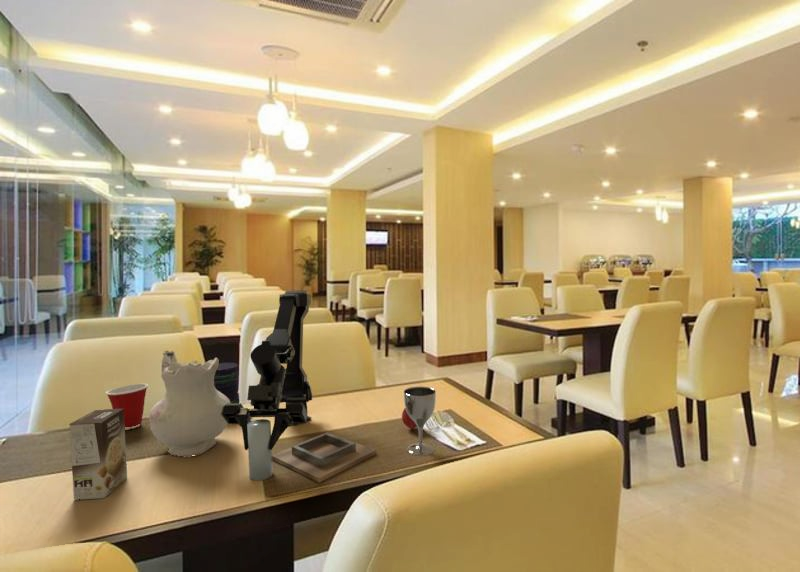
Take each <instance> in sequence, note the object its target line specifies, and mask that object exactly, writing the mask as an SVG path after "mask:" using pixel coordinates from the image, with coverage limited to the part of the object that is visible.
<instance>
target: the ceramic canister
mask: <svg viewBox="0 0 800 572" xmlns="http://www.w3.org/2000/svg"><path fill="white" fill-rule="evenodd" d="M247 431H248V450H247V451H248V452H247V453H248V472H249V473H248V474H249V475H248V476H249V480H252V481H254V482H255V481H257V482H258V481H259V482H260V481H265V480H267V479H270V478H271V477H272V476H273V474H274V472H273V460H272V455H273V453H272V452H273V451H272V450H269V442H270V438H271V434H272V424H271V420H270V419H265V418H264V419H262V418H261V419H254V420H251V422H249V423H248V424H247Z"/></svg>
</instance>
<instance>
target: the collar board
mask: <svg viewBox="0 0 800 572" xmlns="http://www.w3.org/2000/svg"><path fill="white" fill-rule="evenodd" d="M375 455H377V449H374V448H372V447H368V446H365V445H363V444H360V443H358V442H356V441H352V440H350V439H347V438H344V437H341V436H339V435H335V434H333V433H330V432H323V434H319V435H317V436H314V437H312V438H309V439H307V440H305V441H302V442H300V443H296V444H294V445H292V446H291V447H288V448H286V449H284V450H281V451H279V452H277V453H274V454H272V461H274V462H276V463H278V464H280V465H282V466H284V467H286V468H288V469H291V470H292V471H295V472H296V473H298V474H300V475H302V476H304V477H306V478H309V479H310V480H313V481H314V482H317V483H321V482H323V481H325V480H327V479H329V478H331V477H333V476H335V475H337V474H339V473H340V472H343V471H345V470H347V469H349V468H351V467H353V466H356V465H357V464H359V463H361V462H363V461H366V460H367V459H369V458H371V457H373V456H375Z"/></svg>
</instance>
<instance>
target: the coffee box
mask: <svg viewBox="0 0 800 572" xmlns="http://www.w3.org/2000/svg"><path fill="white" fill-rule="evenodd" d="M69 441H70V453H71V467H72V468H71V470H72V472H71V473H72V475H71V476H72V487H73V488H72V490H73V500H74V499H75V500H74V501H80V500H95V499H97V500H98V499H105V498H106V497H107V496H108V495H109V494H111V493H112V492H113V491H114V490H116V488H117V487H118V486H120V485H121V484H122V483H123V482H124V481H125V480H126V479H127V478H128V469H127V468H128V467H127V465H128V464H127V450H126V445H127V444H126V433H125V426H124V409H113V408H107V409H95V410H93V411H91V412H89V413H88V414H85V415H84V416H82V417H80V418H78V419H76V420H74V421H72V422H70V423H69ZM121 482H122V483H121ZM120 483H121V484H120ZM79 499H80V500H79Z"/></svg>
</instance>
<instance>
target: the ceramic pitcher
mask: <svg viewBox="0 0 800 572" xmlns="http://www.w3.org/2000/svg"><path fill="white" fill-rule="evenodd" d="M162 355H163V356H162V359H161V374H160V376H161V379H162V380H163V382H164V387H165V389H166V390H165V394H164V396H163V397H162V398H161V399H159V400H158V401H157V402H156V403H155V405H153V406H152V408H151V409H150V411H149V417H148V418H149V421H148V422H149V428H150V430H151V432H152V434H153V436H154V437H155V438H156V440H158V441H159V442H160V443H162V444H163V445H166V446H168V447H169V448H170V449H169V448H168V449H169V453H170V454H169V453H168V454H169V455H171V456H176V455H177V457H180V456H185V457H187V458H190V457H189V456H192V455H195V456H196V457H198V456H197V455H199V454H201V455H203V454H204V453H206V452H207V451H208V450H210V449H211V448H213V447H214V446H215V445H217V440H216V437H218V436H220V435H221V434H222V433H223V431H224V430H225V429H226V427H227V425H228V423H227V421H226V420H225V419H224V417H223V416H222V415H221V412H222V409H223V407H224V406H225V405H226V404H231V402H230V400H229V399H228V398H227V397H226V396H225V395H224V394H222V393H221V392H219V391H218V390H216V388H215V386H214V375H215V372H216V370H217V368H218V365H219V363H220V362H219V361H220V360H219V358H218V357H214V359H210V360H208V361H206V362H204V363H202V362H198V360H193V361H190V362H188V363H187V362H185V363H181V362H179V361H178V358H177V357H176V355H175V351H173V350H171V351H170V350H164V351H163V353H162ZM202 453H203V454H202ZM199 456H200V455H199ZM185 457H184V458H185Z"/></svg>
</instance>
